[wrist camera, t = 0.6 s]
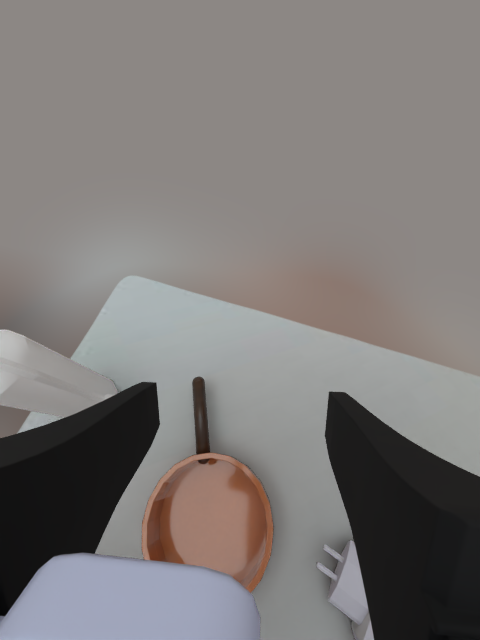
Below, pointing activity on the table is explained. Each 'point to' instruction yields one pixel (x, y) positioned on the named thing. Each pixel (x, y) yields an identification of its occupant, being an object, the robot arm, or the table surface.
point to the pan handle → (200, 418)
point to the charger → (349, 590)
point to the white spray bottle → (46, 379)
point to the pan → (210, 518)
